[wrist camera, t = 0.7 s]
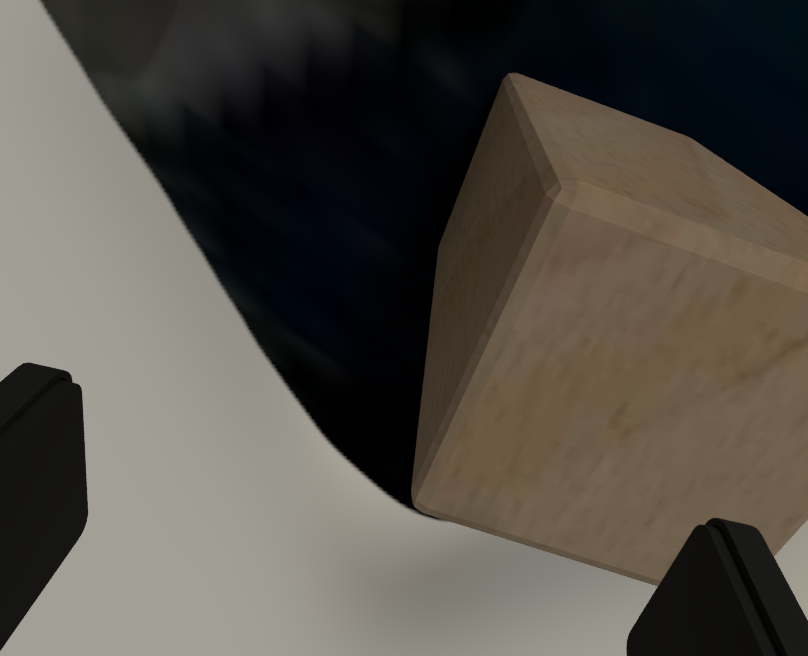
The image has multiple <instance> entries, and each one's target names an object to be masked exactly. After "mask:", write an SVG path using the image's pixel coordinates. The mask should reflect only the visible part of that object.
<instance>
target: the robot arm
mask: <svg viewBox="0 0 808 656" xmlns="http://www.w3.org/2000/svg"><path fill="white" fill-rule="evenodd" d="M87 516H88V502H87V483H86V462H85V442H84V422H83V403H82V390H81V387H80V385H79V384H75V383H73V382H72V377H71V375H70V373H69V372H67V371H64V370H60V369H55V368H51V367H46V366H42V365H38V364H33V363H23V364H22V365H20V366H19V367H17V368H16V369H15V370H14V371H13V372H11V373H10V374H9V375H8V376H7V377H6V378H4V379H3V380H2V381H1V382H0V650H1V649H2V648H3V646H4V645H5V643H6V642H7V640H8V639H9V637H10V636H11V634H12V633H13V632H14V631H15V629H16V628H17V626H18V625H19V623H20V622H21V621H22V619H23V618H24V616H25V615H26V613H27V612H28V611H29V609H30V607H31V606H32V605H33V603H34V602H35V601H36V599H37V598H38V596H39V595H40V593H41V592H42V590H43V589H44V588H45V586H46V585H47V583H48V582H49V580H50V579H51V578H52V576H53V575H54V573H55V572H56V571H57V569H58V568H59V566H60V565H61V563H62V562H63V560H64V559H65V557H66V556H67V555H68V553H69V552H70V550H71V549H72V548H73V546H74V545H75V543H76V542H77V541H78V539H79V537H80V536H81V534H82V532H83V530H84V527H85V525H86V522H87ZM627 656H808V620H807V619H806V617H805V615H804V613H803V611H802V609H801V607H800V606H799V604H798V602H797V600H796V598H795V596H794V594H793V592H792V590H791V589H790V587H789V585H788V583H787V581H786V579H785V578H784V575H783V573H782V572H781V570H780V568H779V566H778V564H777V562H776V560H775V559H774V557H773V555H772V553H771V551H770V549H769V547H768V545H767V543H766V542H765V540H764V538H763V536H762V534H761V533H760V532H759V530H758V529H757V528H755V527H754V526H752V525H747V524H743V523H738V522H734V521H729V520H725V519H720V518H712V519H710V520H708V521H707V523H706V524H705V525H701V524H699V525H697V526H696V527H695V528H694V529H693V531H692V532H691V534H690V536H689V537H688V539H687V540H686V542H685V544H684V545H683V547H682V549H681V550H680V552H679V553H678V555H677V557H676V558H675V560H674V561H673V563H672V565H671V566H670V568H669V570H668V571H667V573H666V574H665V576H664V578H663V579H662V581H661V582H660V584H659V586H658V587H657V589H656V591H655V593H654V594H653V595H652V597H651V599H650V600H649V602H648V604H647V605H646V607H645V608H644V610H643V612H642V613H641V615H640V616H639V618H638V620H637V622H636V623H635V625H634V626H633V628H632V630H631V631H630V633H629V636H628V640H627Z"/></svg>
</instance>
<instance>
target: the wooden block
mask: <svg viewBox="0 0 808 656" xmlns="http://www.w3.org/2000/svg"><path fill="white" fill-rule="evenodd" d="M411 494H412V501H413V504H414V507H415V508H417V509H418V510H420V511H421V512H422V513H425V514H428V515H431V516H434V517H438V518H441V519H444V520H447V521H450V522H454V523H457V524H460V525H463V526H467V527H470V528H473V529H476V530H480V531H483V532H486V533H489V534H493V535H495V536H499V537H502V538H505V539H508V540H511V541H515V542H518V543H521V544H524V545H527V546H531V547H534V548H537V549H540V550H543V551H547V552H550V553H553V554H556V555H560V556H563V557H566V558H569V559H572V560H575V561H579V562H582V563H585V564H588V565H591V566H595V567H598V568H601V569H604V570H608V571H611V572H614V573H618V574H620V575H624V576H627V577H630V578H633V579H637V580H640V581H643V582H646V583H649V584H652V585H656V586H659V584H660V582H661V581H662V579H663V578H664V576H665V574H666V573H667V571H668V570H669V568H670V566H671V565H672V563H673V561H674V560H675V558H676V557H677V555H678V553H679V552H680V550H681V549H682V547H683V545H684V544H685V542H686V540H687V539H688V537H689V536H690V534H691V532H692V531H693V529H694V528H695V527H696V526H697V525H699V524H701V525H705V524H706V523H707V521H708V520H710V519H712V518H720V519H725V520H729V521H734V522H738V523H743V524H747V525H752V526H754V527H755V528H757V529H758V530H759V532H760V533H761V534H762V536H763V538H764V540H765V542H766V543H767V545H768V547H769V549H770V551H771V553H772V555H773V557H774V556H775V555H776V553H777V552H778V551H779V550H780V549H781V548H782V547H783V546H784V545H785V544H786V542H787V541H788V540H789V539H790V538H791V537H792V536H793V535H794V534H795V533H796V531H797V530H798V529H799V528H800V527H801V526H802V525H803V524H804V523H805V522H806V520H807V519H808V217H807V216H806V215H804V214H803V213H801V212H800V211H798V210H797V209H795V208H794V207H792V206H791V205H789V204H788V203H787V202H785V201H784V200H782V199H781V198H779V197H778V196H776V195H775V194H773V193H772V192H770V191H769V190H767V189H766V188H764V187H763V186H761V185H760V184H758V183H757V182H755V181H754V180H752V179H751V178H749V177H748V176H746V175H745V174H743V173H742V172H740V171H739V170H737V169H736V168H734V167H733V166H732V165H730V164H729V163H727V162H726V161H724V160H723V159H721V158H720V157H718V156H717V155H715V154H714V153H712V152H711V151H709V150H708V149H706V148H705V147H703V146H702V145H700V144H699V143H697V142H696V141H694V140H693V139H691V138H690V137H687V136H685V135H682V134H679V133H677V132H674V131H671V130H669V129H666V128H663V127H660V126H658V125H655V124H652V123H650V122H647V121H644V120H642V119H639V118H636V117H634V116H631V115H628V114H625V113H623V112H620V111H617V110H615V109H612V108H609V107H607V106H604V105H601V104H599V103H596V102H593V101H590V100H588V99H585V98H582V97H580V96H577V95H574V94H572V93H569V92H566V91H564V90H561V89H558V88H556V87H553V86H550V85H547V84H545V83H542V82H539V81H537V80H534V79H531V78H529V77H526V76H523V75H521V74H518V73H509V74H507V75H506V77H505V78H504V79H503V80H502V83H501V85H500V88H499V90H498V93H497V96H496V98H495V101H494V103H493V106H492V109H491V111H490V114H489V116H488V119H487V122H486V124H485V127H484V130H483V132H482V135H481V137H480V140H479V143H478V145H477V148H476V150H475V153H474V156H473V158H472V161H471V163H470V166H469V169H468V171H467V174H466V176H465V179H464V182H463V184H462V187H461V190H460V192H459V195H458V197H457V200H456V203H455V205H454V208H453V210H452V213H451V216H450V218H449V221H448V223H447V226H446V229H445V231H444V234H443V237H442V239H441V242H440V244H439V247H438V256H437V265H436V274H435V283H434V292H433V301H432V309H431V318H430V327H429V336H428V345H427V354H426V363H425V372H424V380H423V389H422V398H421V407H420V416H419V425H418V434H417V442H416V451H415V460H414V469H413V478H412V487H411Z"/></svg>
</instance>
